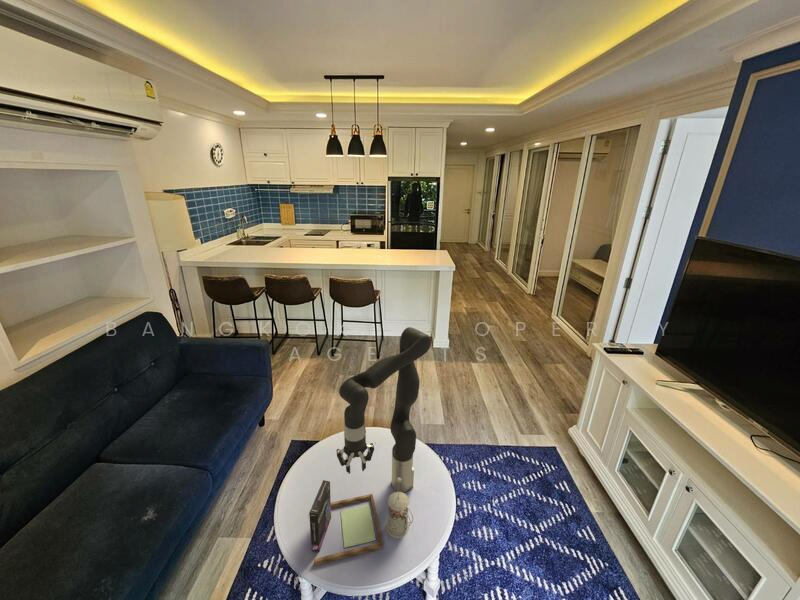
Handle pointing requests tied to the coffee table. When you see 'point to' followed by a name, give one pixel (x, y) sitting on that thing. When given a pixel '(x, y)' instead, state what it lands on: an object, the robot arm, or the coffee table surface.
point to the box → (320, 516)
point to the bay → (355, 529)
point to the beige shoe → (398, 514)
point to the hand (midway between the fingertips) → (356, 470)
